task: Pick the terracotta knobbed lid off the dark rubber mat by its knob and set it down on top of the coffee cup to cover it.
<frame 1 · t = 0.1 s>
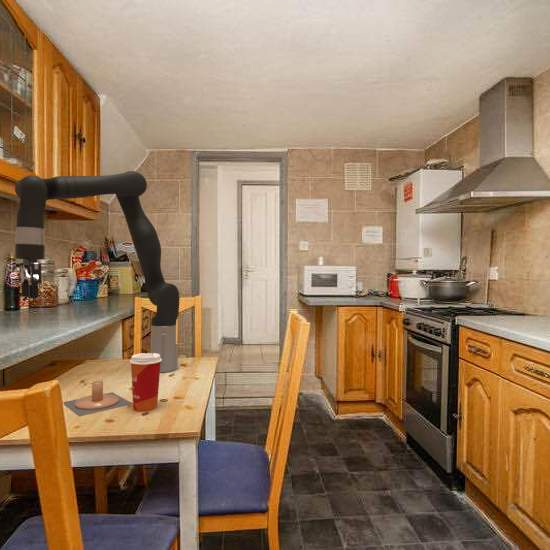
hand: (29, 297, 117), 29 cm above the table, fingers open, 8 cm apart
lid: (97, 403, 108), point 1 cm above the table, touching mat
mat: (97, 406, 108), on the table
coffee cup: (145, 411, 105), on the table
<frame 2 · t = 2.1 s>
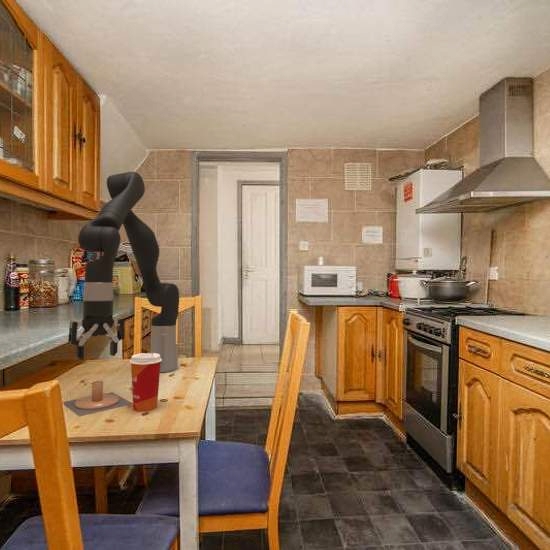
hand: (97, 357, 108), 14 cm above the table, fingers open, 8 cm apart
nothing on the table moved.
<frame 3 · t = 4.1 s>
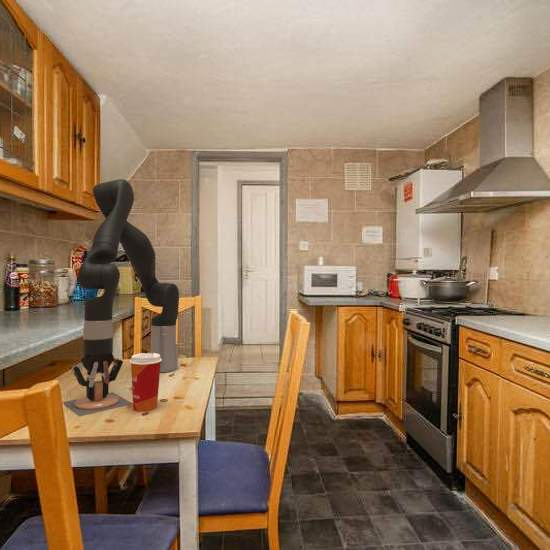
hand: (97, 398, 108), 2 cm above the table, fingers closed on lid, 2 cm apart
lid: (97, 403, 108), point 1 cm above the table, touching gripper, mat
everything else where it was.
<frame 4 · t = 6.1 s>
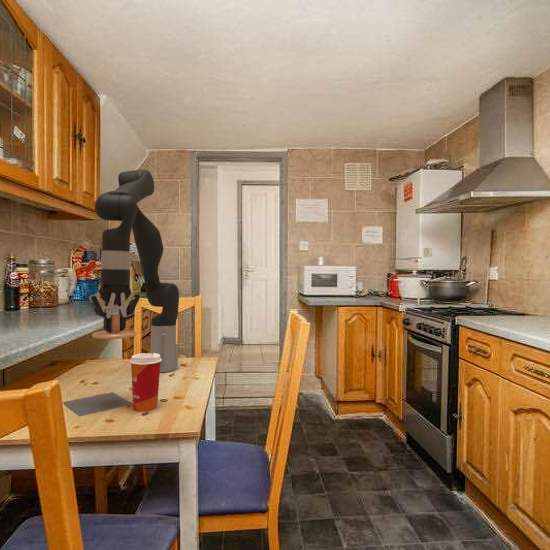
hand: (114, 330, 107), 21 cm above the table, fingers closed on lid, 2 cm apart
lid: (114, 335, 107), point 20 cm above the table, touching gripper
everything else where it was.
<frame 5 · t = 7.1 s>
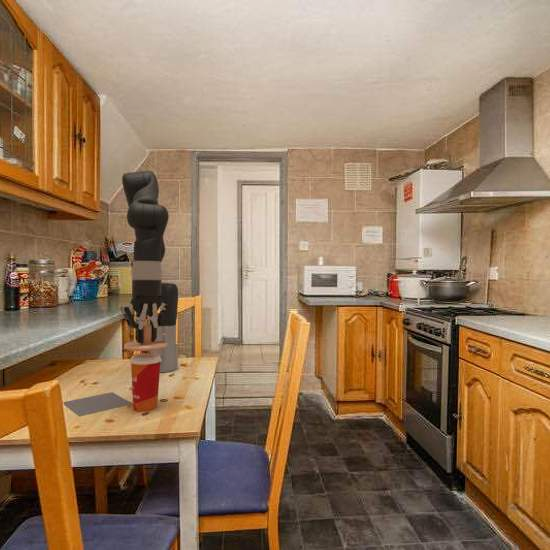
hand: (145, 342, 105), 19 cm above the table, fingers closed on lid, 2 cm apart
lid: (146, 346, 105), point 17 cm above the table, touching gripper
everything else where it was.
when the fingers open (18 cm above the table, at t = 7.9 s): lid drops 1 cm, resting on coffee cup.
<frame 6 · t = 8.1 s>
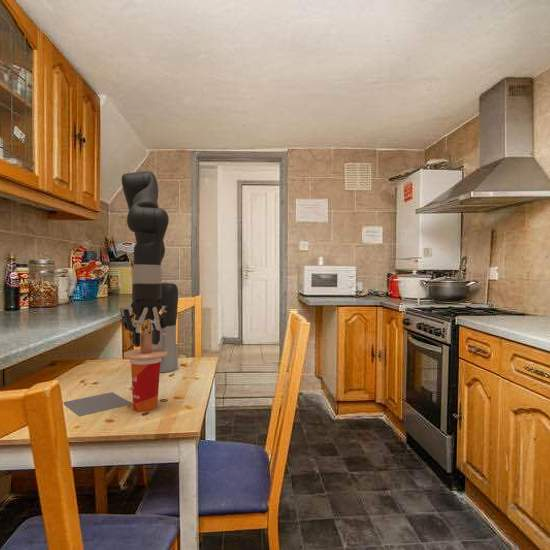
hand: (146, 345, 105), 18 cm above the table, fingers open, 4 cm apart
lid: (146, 355, 105), point 15 cm above the table, touching coffee cup
coffee cup: (145, 411, 105), on the table, touching lid
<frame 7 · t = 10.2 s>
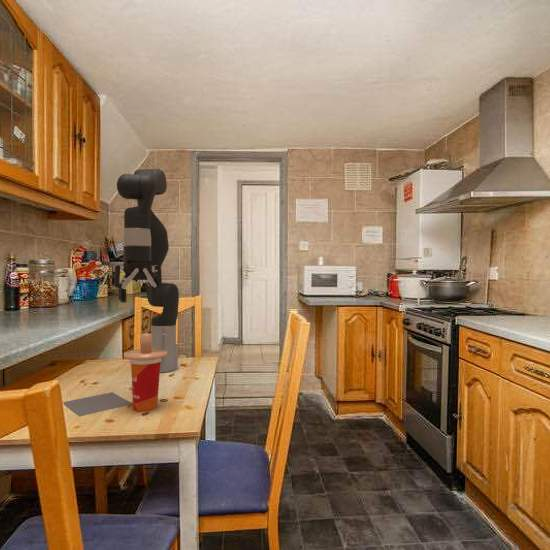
hand: (137, 301, 112), 29 cm above the table, fingers open, 8 cm apart
nothing on the table moved.
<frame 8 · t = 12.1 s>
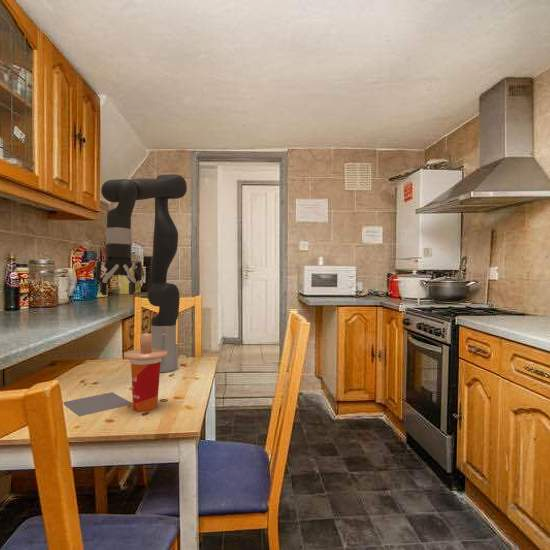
hand: (117, 294, 123), 30 cm above the table, fingers open, 8 cm apart
nothing on the table moved.
at the end: lid 0.0 cm off-centre on the coffee cup, point 15.2 cm above the coffee cup's base; lid tilted 0°; the gripper is holding nothing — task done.
